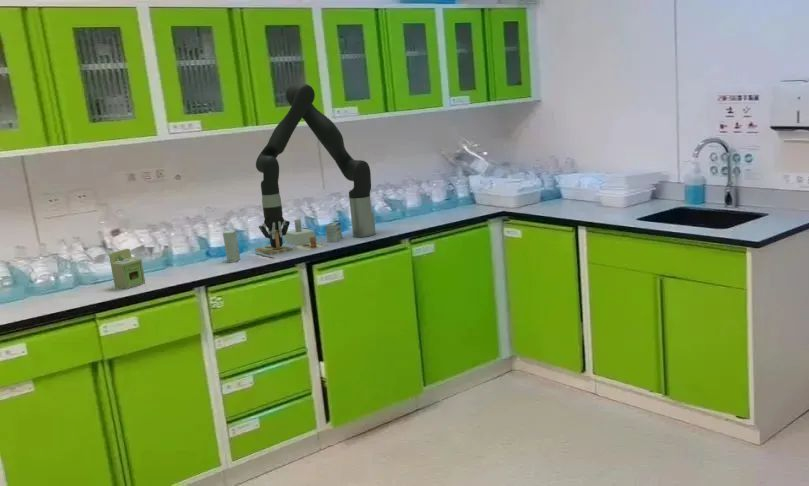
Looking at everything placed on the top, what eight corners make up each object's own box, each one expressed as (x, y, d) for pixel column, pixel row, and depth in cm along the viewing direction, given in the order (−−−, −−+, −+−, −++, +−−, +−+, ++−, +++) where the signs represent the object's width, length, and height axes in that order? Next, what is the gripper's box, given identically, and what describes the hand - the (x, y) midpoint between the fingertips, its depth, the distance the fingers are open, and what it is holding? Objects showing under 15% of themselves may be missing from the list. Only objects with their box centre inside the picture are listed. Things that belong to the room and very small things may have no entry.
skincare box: (237, 261, 304) (233, 232, 301) (226, 262, 304) (222, 233, 301) (240, 258, 310) (236, 229, 307) (229, 259, 310) (225, 230, 307)
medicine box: (337, 245, 319) (335, 225, 317) (327, 245, 320) (325, 225, 318) (342, 241, 327) (340, 221, 325) (332, 241, 327) (330, 222, 326)
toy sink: (126, 289, 273) (120, 254, 270) (114, 288, 277) (108, 253, 275) (146, 283, 280) (141, 248, 277) (134, 282, 284) (128, 247, 281)
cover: (302, 241, 333) (299, 217, 331) (316, 244, 325) (313, 219, 323) (284, 245, 328) (281, 220, 326) (297, 248, 320) (294, 222, 317)
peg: (279, 252, 311) (276, 230, 310) (281, 252, 310) (279, 231, 308) (273, 253, 310) (271, 231, 308) (276, 254, 308) (274, 232, 306)
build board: (276, 249, 321) (276, 243, 320) (293, 253, 310) (293, 247, 309) (255, 254, 315) (254, 248, 314) (272, 258, 304) (271, 252, 303)
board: (313, 245, 322) (311, 233, 321) (328, 249, 313) (326, 235, 312) (292, 250, 316) (291, 237, 315) (307, 253, 307) (306, 240, 306)
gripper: (261, 208, 299) (266, 251, 302) (291, 203, 307) (296, 244, 311) (252, 207, 305) (257, 249, 308) (282, 201, 313) (287, 242, 316)
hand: (277, 246), depth 309 cm, fingers closed on peg, 2 cm apart
